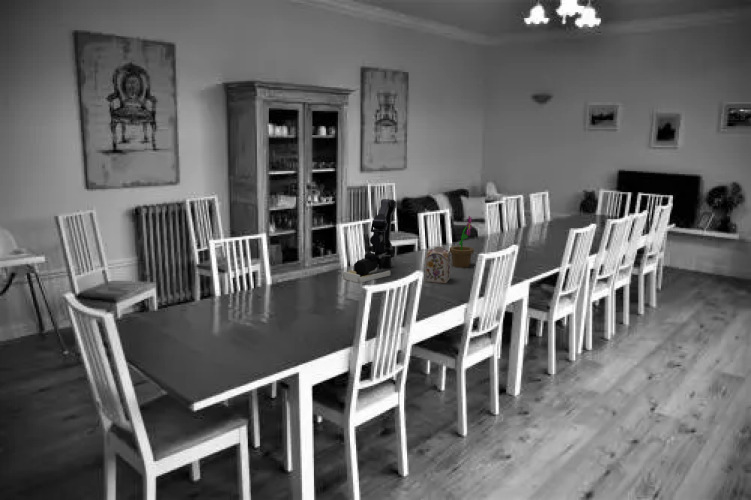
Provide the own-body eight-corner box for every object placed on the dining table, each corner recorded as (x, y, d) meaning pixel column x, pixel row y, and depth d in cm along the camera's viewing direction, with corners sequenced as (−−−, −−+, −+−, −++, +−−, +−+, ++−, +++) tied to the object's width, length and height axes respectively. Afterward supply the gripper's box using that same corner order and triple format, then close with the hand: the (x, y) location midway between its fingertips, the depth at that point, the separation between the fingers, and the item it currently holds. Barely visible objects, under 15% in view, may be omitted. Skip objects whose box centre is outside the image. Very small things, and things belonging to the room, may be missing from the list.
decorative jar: (446, 284, 301) (447, 249, 298) (424, 282, 305) (425, 248, 301) (450, 278, 313) (451, 245, 309) (429, 276, 316) (430, 244, 312)
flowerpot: (470, 269, 334) (472, 217, 328) (445, 266, 339) (447, 215, 333) (475, 264, 347) (478, 214, 341) (452, 261, 352) (454, 212, 346)
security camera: (351, 280, 305) (351, 262, 303) (367, 273, 321) (367, 255, 319) (362, 282, 302) (362, 263, 300) (378, 274, 318) (378, 257, 316)
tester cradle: (374, 271, 325) (374, 262, 324) (390, 275, 317) (390, 266, 316) (342, 278, 309) (342, 269, 308) (358, 283, 300) (358, 273, 299)
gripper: (380, 236, 328) (381, 262, 332) (356, 242, 315) (357, 270, 319) (395, 238, 320) (395, 266, 324) (371, 245, 307) (372, 273, 311)
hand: (380, 268), depth 320 cm, fingers closed
